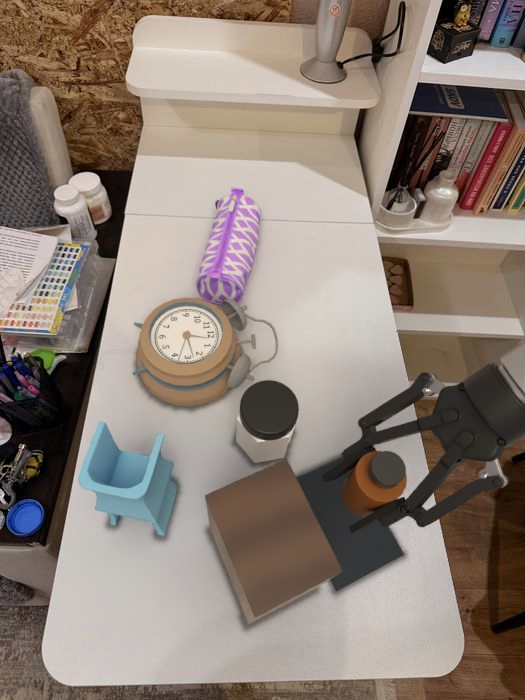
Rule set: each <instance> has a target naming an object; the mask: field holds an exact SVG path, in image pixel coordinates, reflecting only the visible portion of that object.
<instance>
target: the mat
mask: <svg viewBox="0 0 525 700" xmlns="http://www.w3.org/2000/svg"><path fill="white" fill-rule="evenodd" d="M343 461H345V459H344V457H343V456H342V457H340V458H337V459H336V460H335V459H334V460H333V461H331V462H329V463H326V464H325V465H322V466H320V467H318V468H315V469H314V470H311V471H309V472H307V473H304V474H303V475H301V476H299V477H296V478H297V480H298V482H299V484H300V486H301V488H302V490H303V492H304V494H305V496H306V498H307V500H308V502H309V504H310V506H311V508H312V510H313V512H314V514H315V516H316V518H317V520H318V522H319V524H320V526H321V528H322V530H323V532H324V534H325V536H326V538H327V540H328V542H329V544H330V546H331V548H332V550H333V552H334V554H335V556H336V558H337V560H338V562H339V564H340V566H341V568H342V570H343V571H342V572H341V573H339V574H338V575H336V576H335V577H333V578H331V579H330V582H331V584H332V586H333V587H334V590H335V591H336V592H338V591H340V590H342V589H344V588H345V587H347V586H349V585H351V584H353V583H355V582H357V581H359V580H360V579H362V578H364V577H366V576H368V575H370V574H371V573H373V572H375V571H377V570H378V569H379V570H380V569H381V568H382V567H384V566H386V565H388V564H390V563H392V562H394V561H395V560H397V559H399V558H401V557H403V556H404V555H405V554H404V552H403V550H402V548H401V547H400V545H399V543H398V540H397V539H396V537H395V535H394V534H393V532H392V530H391V528H390V527H389V526H388V527H382V525H381V523H380V522H379V520H378V521H376V522H374V523H372V524H371V525H369V526H367V527H365V528H364V529H362V530H359V531H357V532H354V533H351V531H350V529H349V526H351V525H353V524H354V523H356V522H358V521H359V520H361V519H363V518H365V517H360V516H357V515H355V514H354V513H352V512H351V511H350V510H349V509H348V508H347V507H346V505H345V503H344V501H343V498H342V486H343V483H344V481H345V480H346V478H347V477H348V475H349V474H350V473H351V471H352V470H353V469H351V470H350V471H348V472H347V473H345V474H344V475H342V476H341V477H339V478H337V479H336V480H331V481H326V482H324V480H323V478H322V475H324V474H325V473H327V472H328V471H330V470H331V469H333V468H334V467H336V466H337V465H339V464H340V463H342V462H343Z"/></svg>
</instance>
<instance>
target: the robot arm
mask: <svg viewBox="0 0 525 700" xmlns="http://www.w3.org/2000/svg"><path fill="white" fill-rule="evenodd" d="M499 362H500V363H499V364H498V363H497V362H490V363H488V364H486V365H485V366H483V367H481V368H480V369H479V370H477V371H476V372H474V373H473V374H471V375H470V376H468V377H467V378H465V379H463V380H462V381H461V382H459V383H457V384H453V385H445V384H444V383H443V382H441V381H440V380H438V376H437V375H436V374H434V373H430V372H425V371H422V372H421V373H420V374H419V375H418V376H417V378H416V379H415V380H414V381H413V383H412V384H411V385H410V386H409V387H408V388H406V389H404V390H403V391H401V392H399V393H398V394H397V395H394V396H393V397H392V398H390V399H389V400H387V401H385V402H384V403H382V404H380V405H379V406H378V407H376V408H374V409H373V410H371V411H370V412H368V413H366V414H364V416H362V417H360V418H359V419H358V421H357V425H358V428H360V432H361V437H360V438H359V439H358V440H356V441H355V442H353V443H351V445H349V446H348V447H346V448H345V449H344V450H343V451H342V452H341V456H342V457H344V459H345V461H343V462H342V463H340V464H339V465H337V466H336V467H334V468H333V469H331V470H330V471H328V472H327V473H325V474H324V475H322V478H323V480H324V482H326V481H331V480H336V479H337V478H339V477H341V476H342V475H344V474H345V473H347V472H348V471H350V470H351V469H353V468H354V467H355V466H356V464H357V463H358V461H359V460H360V459H361V458H362V457H363V456H364V455H365V454H367V453H369V452H372V451H378V450H377V449H376V447H375V446H377V445H381V444H383V443H387V442H392V441H396V440H398V439H402V438H405V437H410V436H413V435H416V434H421V433H424V432H427V431H431V432H432V433H433V435H434V436H435V437H436V438H437V439H438V440H439V442H440V445H441V448H442V449H443V451H444V453H443V455H442V456H441V457H440V458H439V460H438V462H437V463H436V464H435V466H434V467H432V469H431V470H430V471H429V472H428V474H427V475H426V476H425V477H424V478H423V479H422V480H421V482H419V484H418V485H417V486H416V487H415V489H414V490H413V491H412V492H411V493H410V494H409V496H408V497H407V498H406V497H405V496H402V497H401V496H400V497H398V498H397V499H395V500H393V501H392V502H390V503H388V504H386V505H385V506H383V507H381V508H380V509H378V510H376V511H375V512H373V513H371V514H370V515H368V516H366V517H365V518H363V519H361V520H359V521H358V522H356V523H354V524H353V525H351V526H349V529H350V531H351V533H354V532H357V531H359V530H362V529H364V528H365V527H367V526H369V525H371V524H372V523H374V522H376V521H378V520H379V522H380V523H381V525H382V527H389V526H392V525H395V524H396V523H398V522H400V521H402V520H403V519H404V518H406V517H409V518H411V519H413V520H414V521H415V524H416V525H417V526H418V527H419V528H425V527H428V526H429V525H432V524H433V523H435V522H436V521H438V520H440V519H442V518H443V517H445V516H446V515H448V514H449V513H451V512H453V511H454V510H456V509H458V508H459V507H461V506H462V505H464V504H466V503H467V502H469V501H470V500H473V499H474V498H475V497H477V496H479V495H481V494H483V493H485V492H490V491H496V490H500V489H502V488H504V487H506V486H507V485H508V484H509V477H508V476H507V475H506V474H504V473H503V470H502V466H501V464H500V461H499V459H500V457H501V456H502V454H503V452H504V451H505V450H506V449H507V448H508V447H510V446H511V445H513V444H515V443H516V442H519V440H522V439H523V438H525V339H523V340H521V341H520V342H519V343H518V344H516V345H514V346H513V347H511V348H510V349H508V350H506V351H505V352H503V353H502V354H501V355H500V357H499ZM435 394H437V395H438V396H437V399H436V402H435V405H434V407H433V410H432V413H431V414H430V415H426V416H423V417H420V418H417V419H414V420H411V421H407V422H404V423H401V424H398V425H394V426H389V427H387V428H384V429H380V430H377V427H378V426H380V425H381V424H382V423H385V422H386V421H387V420H389V419H391V418H392V417H394V416H396V415H397V414H399V413H401V412H403V411H404V410H406V409H407V408H409V407H411V406H412V405H414V404H415V403H417V402H419V401H421V399H423V398H425V397H433V396H434V395H435ZM464 460H468V461H476V462H477V461H479V462H485V466H484V467H483V468H482V469H481V470H479V471H478V479H476V480H473V481H471V482H469V483H468V484H466V485H465V486H463V487H461V488H460V489H458V490H457V491H454V492H453V493H452V494H450V495H448V496H447V497H446V498H444V499H443V500H441V501H439V502H438V503H436V504H435V505H433V506H431V507H430V508H428V509H426V508H424V504H426V502H427V501H428V500H429V499H430V497H432V495H433V494H434V493H435V492H436V491H437V490H438V489H439V488H440V487H441V485H442V484H443V483H444V482H445V481H446V479H448V477H449V476H450V475H451V474H452V473H453V471H455V469H457V467H459V466H460V465H461V464H462V463H463V462H464Z"/></svg>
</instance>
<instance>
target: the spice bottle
mask: <svg viewBox="0 0 525 700" xmlns="http://www.w3.org/2000/svg"><path fill="white" fill-rule="evenodd" d="M407 482H408V477H407V468H406V463H405V461H404V459H403V458H402V457H401V456H400V455H399V454H397V453H396V452H393V451H391V450H377V451H372V452H369V453H367V454H365V455H364V456H363V457H362V458H361V459H360V460H359V461H358V463H357V464H356V466H355V467H354V468H353V470H352V471H351V473H350V474H349V475H348V477H347V478H346V480H345V481H344V483H343V486H342V498H343V501H344V503H345V505H346V507H347V508H348V509H349V510H350V511H351V512H352V513H354V514H355V515H357V516H360V517H366V516H368V515H370V514H371V513H373V512H375V511H376V510H378V509H380V508H381V507H383V506H385V505H386V504H388V503H390V502H392V501H393V500H395V499H398V498H401V496H402V494H403V493H404V492H405V490H406V487H407Z"/></svg>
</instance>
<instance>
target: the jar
mask: <svg viewBox="0 0 525 700" xmlns="http://www.w3.org/2000/svg"><path fill="white" fill-rule="evenodd" d="M299 411H300V406H299V401H298V397H297V395H296V394H295V393H294V391H293V390H292V389H291V388H290V387H289V386H287V385H286V384H284V383H283V382H280V381H277V380H273V379H272V380H271V379H269V380H268V379H267V380H266V379H265V380H260V381H257V382H254V383H253V384H251V385H250V386H249V387H248V388H247V389H245V391H244V392H243V394H242V395H241V399H240V402H239V412H238V414H237V417H236V429H235V431H236V432H235V433H236V435H235V442H236V443H237V445H238V446H239V447H240V448H241V449H242V450H243V451H244V452H245V454H246V455H247V456H248V457H249V458H250V460H252V463H255V464H258V463H262V462H269V461H274V460H275V461H276V460H280V459H284V457H285V456H286V452H287V450H288V446H289V443H291V440H292V437H293V435H294V430H295V428H296V424H297V421H298V418H299Z"/></svg>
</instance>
